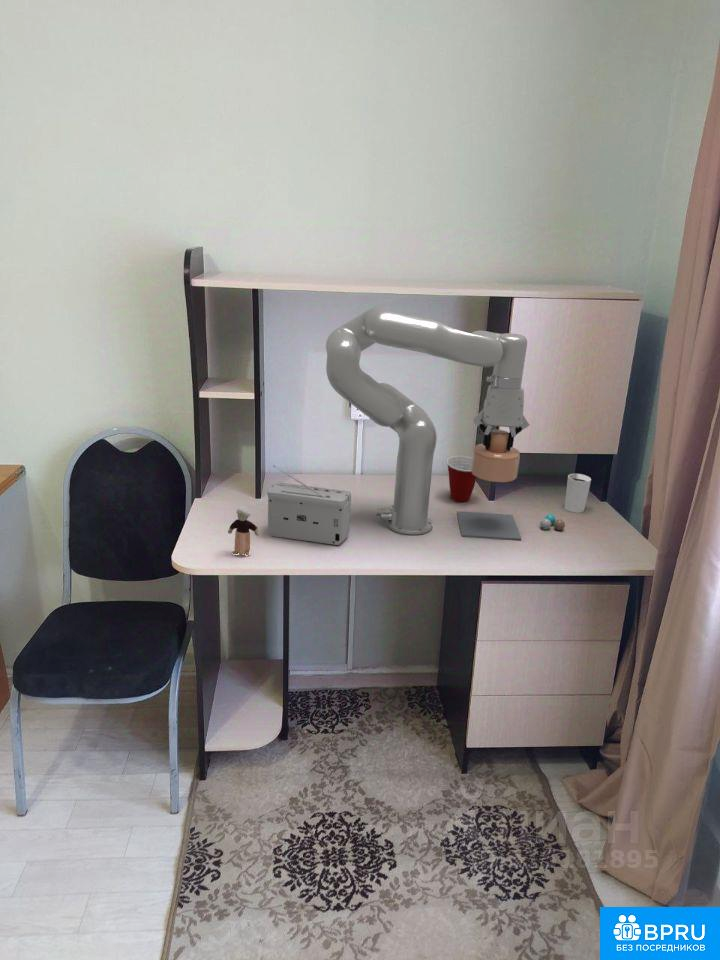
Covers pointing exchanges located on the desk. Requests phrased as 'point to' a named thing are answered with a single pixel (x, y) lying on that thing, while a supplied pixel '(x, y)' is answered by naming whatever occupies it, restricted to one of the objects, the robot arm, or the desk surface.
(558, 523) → the dark brown marble
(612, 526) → the desk surface
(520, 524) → the desk surface
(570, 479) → the white cylinder
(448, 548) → the desk surface
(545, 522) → the grey marble
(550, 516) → the teal marble
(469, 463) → the plastic cup
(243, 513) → the grandmother figurine
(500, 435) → the terracotta cover
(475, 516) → the slate mat
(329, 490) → the stereo radio cassette player
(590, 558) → the desk surface
